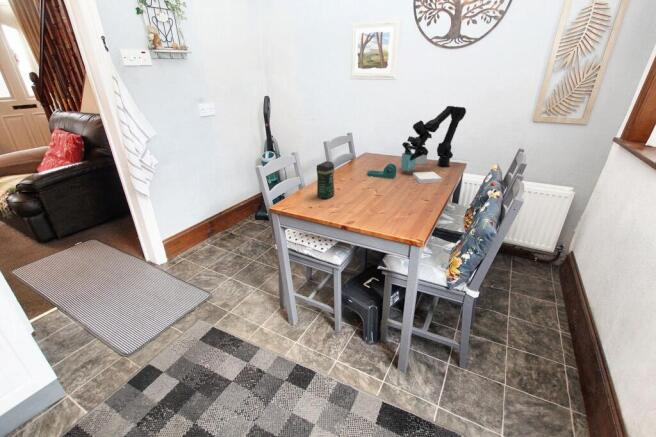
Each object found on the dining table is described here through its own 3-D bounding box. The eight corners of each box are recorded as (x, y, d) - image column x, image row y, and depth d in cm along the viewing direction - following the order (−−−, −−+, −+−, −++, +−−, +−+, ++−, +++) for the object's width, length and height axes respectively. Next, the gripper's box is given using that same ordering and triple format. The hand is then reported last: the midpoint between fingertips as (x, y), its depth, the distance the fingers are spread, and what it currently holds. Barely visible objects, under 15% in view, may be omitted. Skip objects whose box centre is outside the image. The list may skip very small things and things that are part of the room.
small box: (424, 162, 218) (426, 148, 214) (426, 164, 213) (428, 149, 209) (413, 162, 219) (414, 148, 215) (414, 164, 214) (416, 149, 210)
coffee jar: (327, 200, 158) (326, 165, 150) (315, 197, 161) (313, 163, 153) (336, 194, 165) (336, 161, 157) (324, 192, 169) (323, 159, 161)
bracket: (395, 175, 192) (396, 163, 189) (393, 179, 187) (394, 166, 184) (368, 173, 199) (369, 161, 196) (365, 176, 193) (366, 164, 190)
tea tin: (408, 167, 198) (409, 152, 194) (414, 169, 193) (416, 154, 189) (401, 168, 196) (402, 153, 191) (407, 171, 191) (408, 155, 186)
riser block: (433, 176, 191) (433, 171, 189) (441, 183, 179) (441, 178, 178) (412, 177, 190) (413, 172, 189) (419, 184, 179) (420, 179, 177)
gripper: (405, 129, 193) (390, 148, 193) (427, 133, 178) (411, 154, 179) (413, 140, 200) (399, 159, 200) (435, 145, 185) (419, 165, 185)
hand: (406, 159), depth 191 cm, fingers closed on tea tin, 6 cm apart
